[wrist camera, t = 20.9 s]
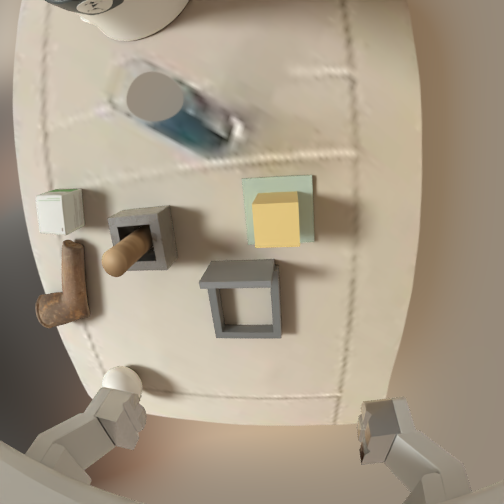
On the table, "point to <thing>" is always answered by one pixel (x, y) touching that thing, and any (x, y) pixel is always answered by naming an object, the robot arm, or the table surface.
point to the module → (276, 219)
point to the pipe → (66, 291)
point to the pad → (282, 185)
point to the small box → (60, 211)
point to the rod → (127, 251)
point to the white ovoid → (123, 380)
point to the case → (243, 277)
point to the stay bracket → (160, 233)
